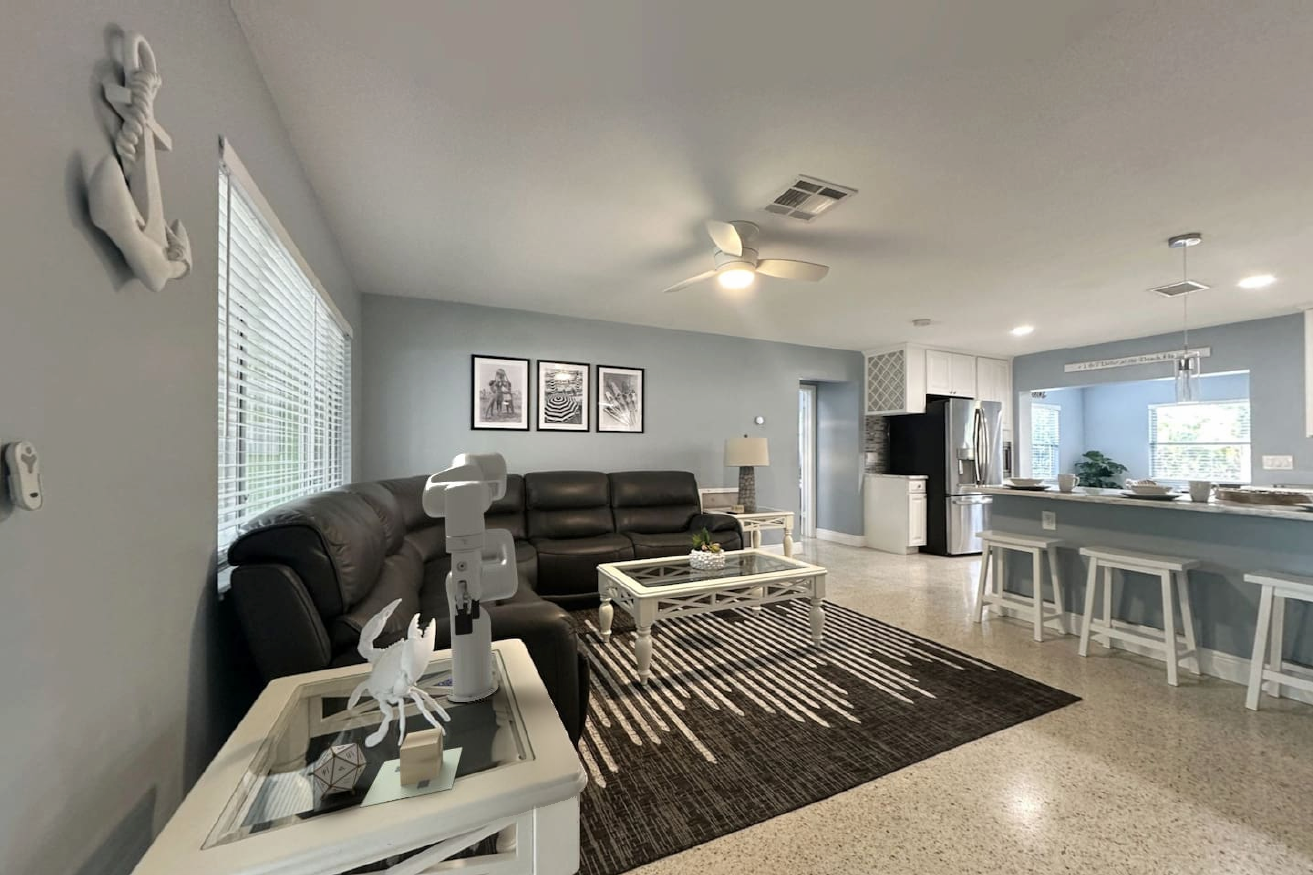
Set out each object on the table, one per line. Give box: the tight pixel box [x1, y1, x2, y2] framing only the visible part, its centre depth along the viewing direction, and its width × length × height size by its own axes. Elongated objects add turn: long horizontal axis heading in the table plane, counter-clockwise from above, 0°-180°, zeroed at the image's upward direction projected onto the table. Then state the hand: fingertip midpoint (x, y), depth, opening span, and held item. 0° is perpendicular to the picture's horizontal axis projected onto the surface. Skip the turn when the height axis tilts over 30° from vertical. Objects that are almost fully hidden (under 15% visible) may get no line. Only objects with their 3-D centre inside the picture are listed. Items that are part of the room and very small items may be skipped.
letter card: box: [359, 747, 463, 808], centre depth 90 cm, size 14×14×1 cm
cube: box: [399, 727, 444, 785], centre depth 90 cm, size 6×6×6 cm
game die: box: [306, 737, 373, 801], centre depth 86 cm, size 9×8×10 cm
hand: (468, 626), depth 102 cm, fingers open, 9 cm apart
